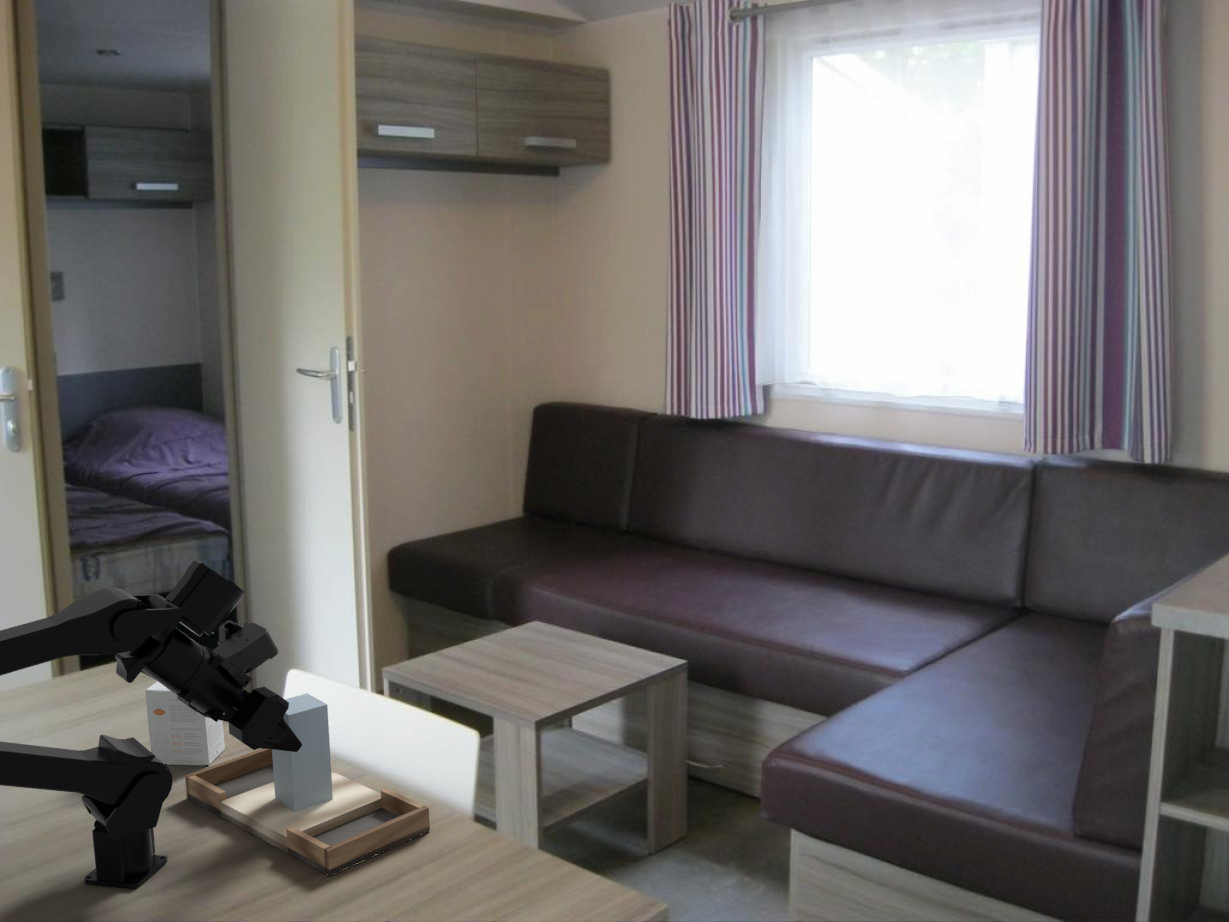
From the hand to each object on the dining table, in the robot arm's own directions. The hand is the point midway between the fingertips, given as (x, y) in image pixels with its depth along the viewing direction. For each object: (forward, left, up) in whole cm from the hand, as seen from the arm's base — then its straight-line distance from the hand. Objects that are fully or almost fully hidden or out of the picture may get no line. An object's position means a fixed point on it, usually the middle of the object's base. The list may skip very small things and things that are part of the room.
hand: (281, 736), depth 153 cm
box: (+2, -1, -11) cm, 11 cm away
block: (+2, -1, -9) cm, 9 cm away
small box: (+15, +22, -11) cm, 28 cm away
